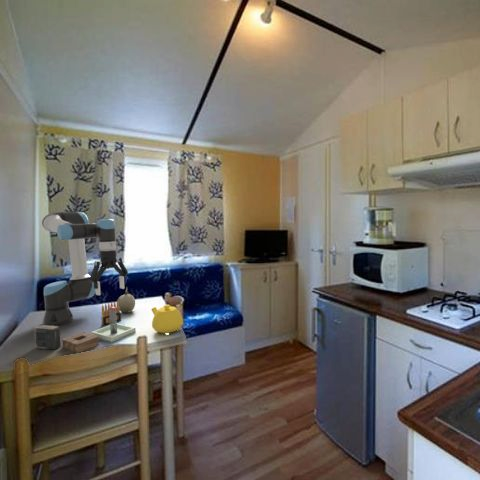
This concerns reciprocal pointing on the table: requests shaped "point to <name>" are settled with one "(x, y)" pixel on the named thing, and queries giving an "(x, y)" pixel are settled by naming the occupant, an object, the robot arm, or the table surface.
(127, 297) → the fruit
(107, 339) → the tray
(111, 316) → the pin
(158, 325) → the teapot
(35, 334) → the camera
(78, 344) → the slotted wooden block
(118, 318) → the ammunition clip
